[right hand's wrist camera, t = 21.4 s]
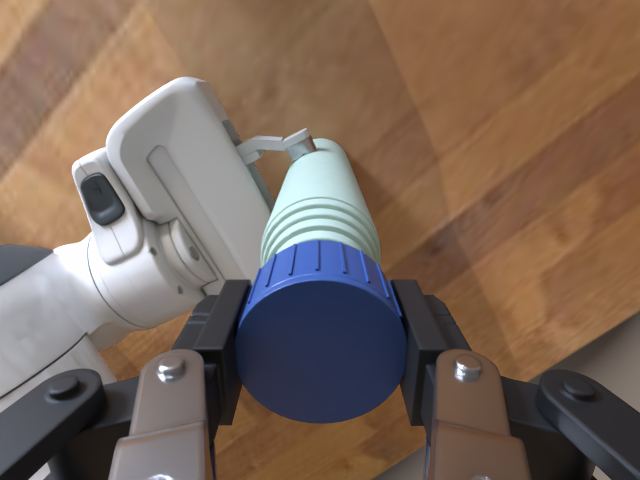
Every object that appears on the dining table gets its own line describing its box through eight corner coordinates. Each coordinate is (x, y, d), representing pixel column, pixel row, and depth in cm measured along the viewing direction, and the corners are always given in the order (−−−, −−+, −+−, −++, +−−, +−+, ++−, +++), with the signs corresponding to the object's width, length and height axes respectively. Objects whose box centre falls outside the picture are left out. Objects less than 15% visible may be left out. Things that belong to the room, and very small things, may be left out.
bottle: (283, 182, 34) (204, 382, 11) (305, 128, 32) (266, 229, 9) (334, 204, 34) (363, 434, 11) (358, 152, 33) (448, 302, 10)
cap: (422, 304, 12) (448, 357, 10) (321, 385, 13) (321, 450, 11) (320, 207, 11) (320, 240, 9) (219, 305, 12) (194, 359, 10)
